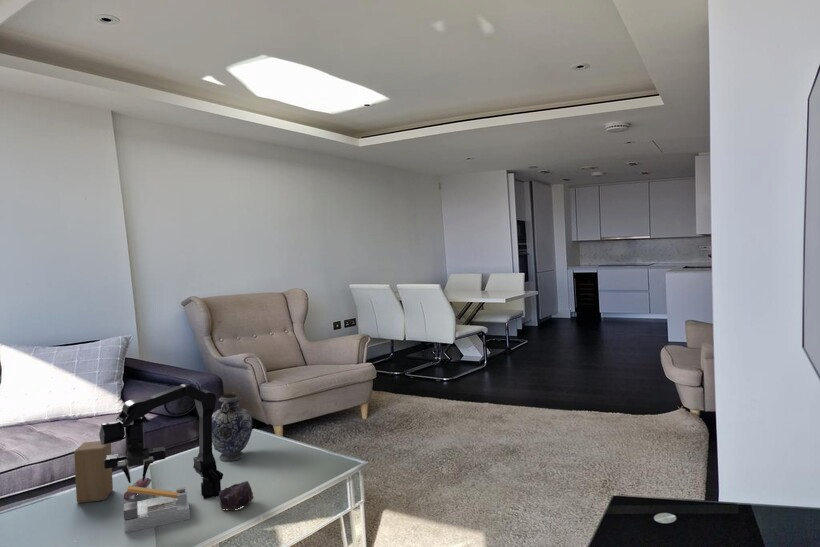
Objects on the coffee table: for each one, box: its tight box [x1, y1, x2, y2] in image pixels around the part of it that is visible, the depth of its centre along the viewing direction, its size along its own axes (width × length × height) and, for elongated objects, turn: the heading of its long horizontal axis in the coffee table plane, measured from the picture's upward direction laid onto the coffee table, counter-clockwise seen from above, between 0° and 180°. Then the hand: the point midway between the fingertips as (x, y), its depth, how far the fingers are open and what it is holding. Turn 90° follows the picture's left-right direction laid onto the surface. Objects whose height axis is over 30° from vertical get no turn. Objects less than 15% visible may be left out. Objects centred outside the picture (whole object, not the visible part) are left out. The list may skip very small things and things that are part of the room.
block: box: [73, 440, 114, 504], centre depth 211 cm, size 10×10×20 cm
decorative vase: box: [212, 391, 253, 463], centre depth 248 cm, size 21×19×28 cm
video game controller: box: [123, 476, 152, 499], centre depth 213 cm, size 10×5×7 cm, turn 169°
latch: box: [123, 500, 138, 521], centre depth 187 cm, size 4×6×3 cm, turn 25°
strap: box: [126, 485, 182, 498], centre depth 195 cm, size 19×3×1 cm, turn 116°
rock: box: [218, 480, 255, 511], centre depth 199 cm, size 12×9×10 cm
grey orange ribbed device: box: [123, 487, 191, 534], centre depth 194 cm, size 20×14×7 cm
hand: (136, 481), depth 192 cm, fingers open, 4 cm apart
